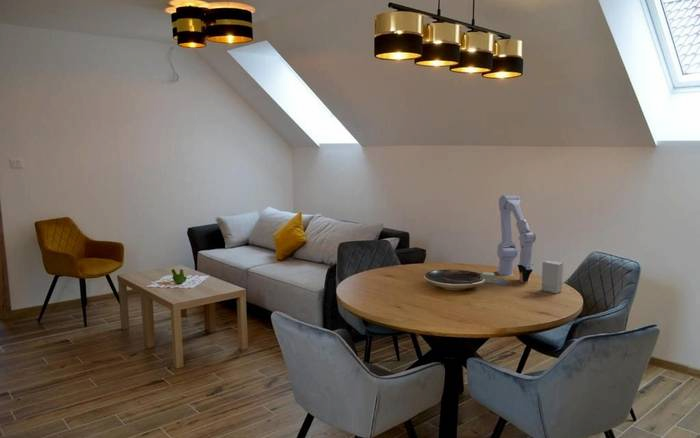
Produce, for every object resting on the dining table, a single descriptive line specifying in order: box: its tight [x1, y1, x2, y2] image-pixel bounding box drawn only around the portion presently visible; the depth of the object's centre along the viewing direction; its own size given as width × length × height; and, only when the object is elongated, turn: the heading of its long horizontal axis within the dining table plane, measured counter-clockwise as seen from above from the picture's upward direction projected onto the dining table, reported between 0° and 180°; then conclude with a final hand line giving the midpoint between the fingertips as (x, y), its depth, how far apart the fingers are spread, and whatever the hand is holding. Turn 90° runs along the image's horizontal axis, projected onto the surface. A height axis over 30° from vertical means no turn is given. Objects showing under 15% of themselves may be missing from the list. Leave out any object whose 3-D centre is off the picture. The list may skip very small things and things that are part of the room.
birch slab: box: [479, 274, 497, 283], centre depth 278 cm, size 7×7×2 cm
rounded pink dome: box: [518, 272, 529, 284], centre depth 279 cm, size 4×4×5 cm
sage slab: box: [480, 271, 496, 279], centre depth 277 cm, size 6×6×2 cm
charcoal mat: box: [480, 277, 511, 287], centre depth 278 cm, size 16×20×1 cm
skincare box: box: [541, 260, 564, 294], centre depth 264 cm, size 8×6×15 cm
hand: (523, 280), depth 279 cm, fingers open, 6 cm apart
